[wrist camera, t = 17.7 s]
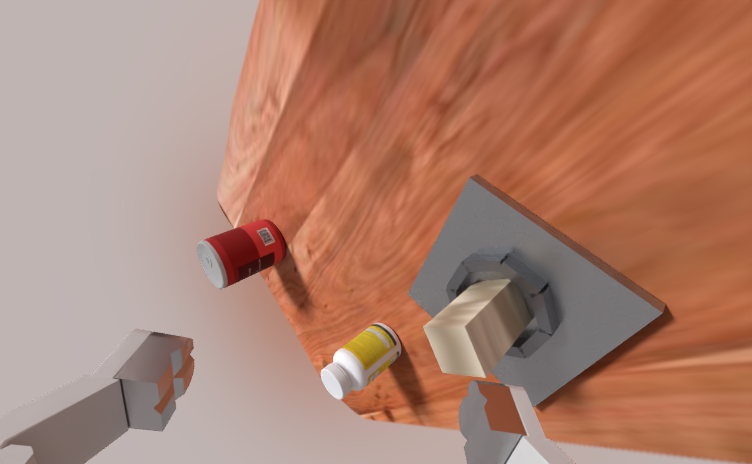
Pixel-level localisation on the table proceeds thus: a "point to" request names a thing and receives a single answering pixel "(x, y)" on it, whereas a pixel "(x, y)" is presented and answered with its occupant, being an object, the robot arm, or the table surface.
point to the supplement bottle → (361, 360)
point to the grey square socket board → (533, 288)
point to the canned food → (241, 252)
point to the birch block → (478, 327)
